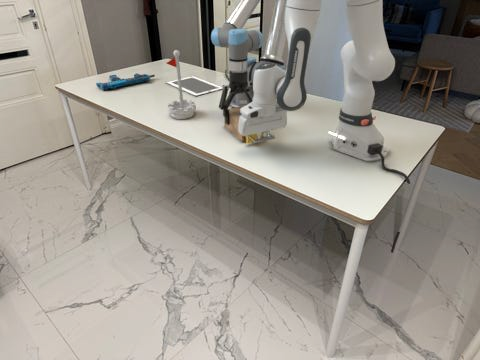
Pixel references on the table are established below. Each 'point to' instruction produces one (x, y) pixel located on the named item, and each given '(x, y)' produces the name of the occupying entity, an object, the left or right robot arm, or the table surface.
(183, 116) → the flag stand
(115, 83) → the submachine gun
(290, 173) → the table surface
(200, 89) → the tablet
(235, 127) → the wooden drawer cabinet
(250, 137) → the drawer
